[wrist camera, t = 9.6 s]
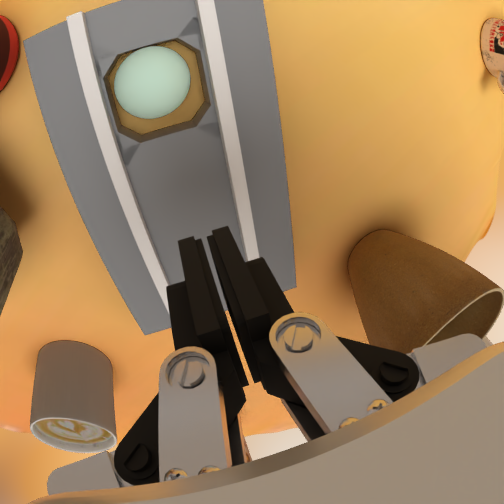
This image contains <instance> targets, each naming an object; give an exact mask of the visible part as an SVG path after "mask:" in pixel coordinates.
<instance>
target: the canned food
mask: <svg viewBox="0 0 504 504" xmlns="http://www.w3.org/2000/svg"><path fill="white" fill-rule="evenodd" d="M18 52H19V41H18V36H17V33H16V31H15V28H14V26H13V25H12V24H11V22H10V21H9V20H8V19H7V18H5V17H4V16H1V15H0V91H1V90H2V89H3V87H4V86H5V85H6V83H7V82H8V80H9V79H10V77H11V75H12V73H13V71H14V68H15V65H16V62H17V58H18Z"/></svg>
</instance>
